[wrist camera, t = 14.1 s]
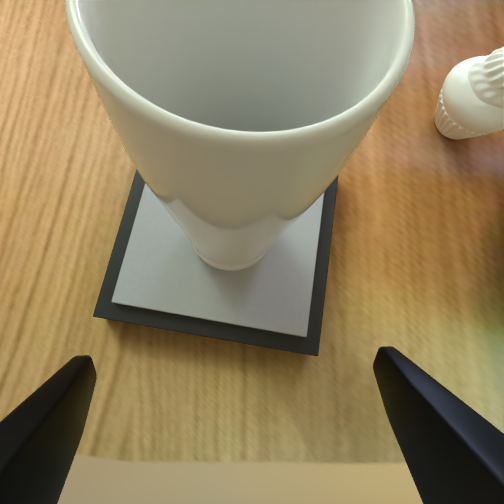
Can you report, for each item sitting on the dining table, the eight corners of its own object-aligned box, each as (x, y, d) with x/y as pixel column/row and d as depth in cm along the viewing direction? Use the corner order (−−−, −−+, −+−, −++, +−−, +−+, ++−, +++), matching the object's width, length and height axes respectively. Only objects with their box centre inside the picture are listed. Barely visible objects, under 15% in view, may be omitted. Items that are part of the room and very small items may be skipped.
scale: (309, 354, 21) (320, 357, 19) (104, 317, 21) (88, 316, 18) (331, 172, 25) (342, 155, 22) (156, 137, 24) (149, 115, 22)
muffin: (474, 92, 28) (553, 17, 21) (493, 153, 27) (585, 93, 20) (410, 94, 27) (471, 17, 21) (426, 156, 26) (497, 95, 19)
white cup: (156, 228, 20) (-27, -46, 5) (234, 166, 21) (256, -176, 7) (227, 306, 19) (237, 232, 5) (303, 236, 21) (491, 14, 6)
